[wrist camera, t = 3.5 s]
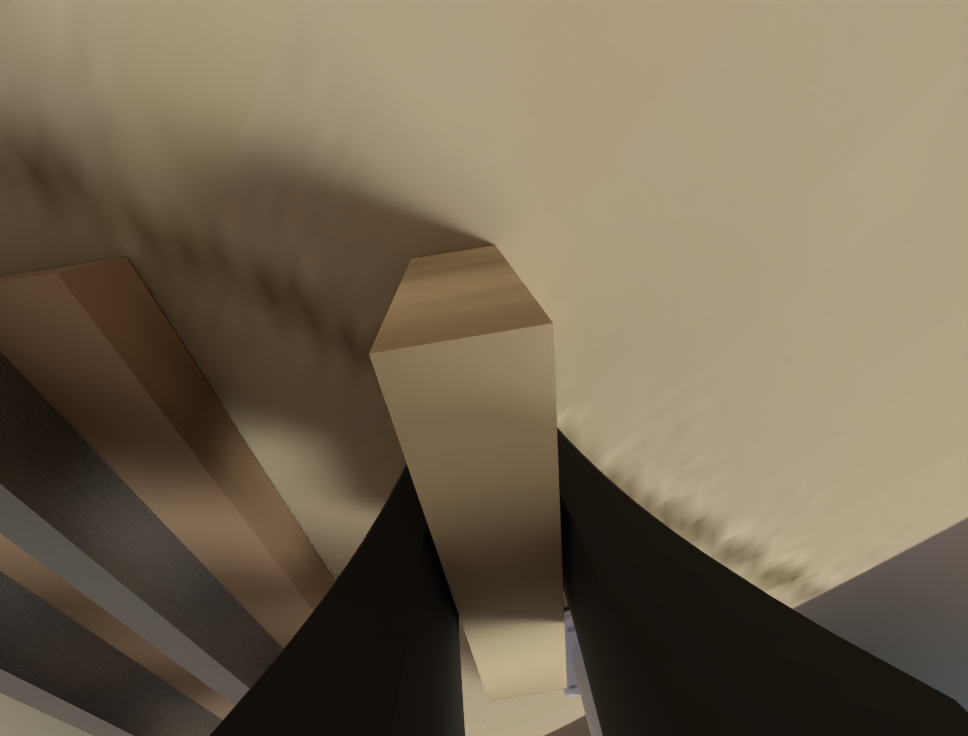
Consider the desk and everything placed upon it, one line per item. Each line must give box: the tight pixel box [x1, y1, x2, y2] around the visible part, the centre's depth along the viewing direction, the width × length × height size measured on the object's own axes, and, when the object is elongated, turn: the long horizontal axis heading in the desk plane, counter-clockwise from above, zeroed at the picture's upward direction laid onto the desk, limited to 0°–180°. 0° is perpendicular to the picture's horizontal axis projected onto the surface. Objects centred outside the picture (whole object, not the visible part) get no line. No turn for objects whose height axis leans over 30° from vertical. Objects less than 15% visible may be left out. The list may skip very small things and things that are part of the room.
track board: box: [0, 256, 335, 736], centre depth 11 cm, size 20×10×3 cm, turn 8°
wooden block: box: [369, 245, 567, 702], centre depth 8 cm, size 10×2×5 cm, turn 8°
